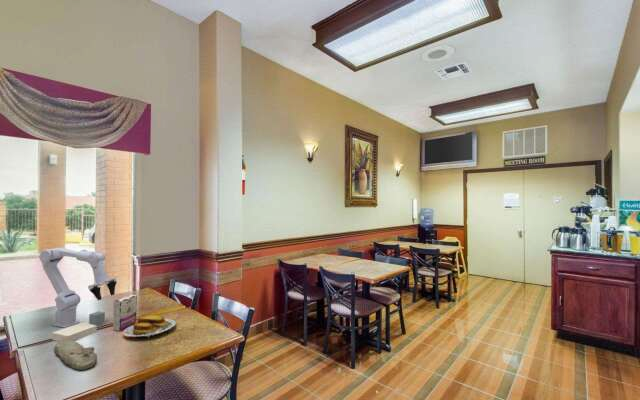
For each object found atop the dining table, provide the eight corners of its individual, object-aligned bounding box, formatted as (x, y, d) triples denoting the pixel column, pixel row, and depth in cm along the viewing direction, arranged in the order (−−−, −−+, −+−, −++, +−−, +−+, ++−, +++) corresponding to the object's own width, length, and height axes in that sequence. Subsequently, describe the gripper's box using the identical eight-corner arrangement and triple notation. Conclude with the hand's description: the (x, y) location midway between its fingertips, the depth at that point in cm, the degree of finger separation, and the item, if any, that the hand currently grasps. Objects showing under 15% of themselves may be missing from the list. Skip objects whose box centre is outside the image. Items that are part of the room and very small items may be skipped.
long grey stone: (74, 344, 147) (48, 353, 139) (74, 334, 147) (47, 342, 139) (104, 363, 127) (75, 375, 119) (103, 351, 127) (74, 362, 119)
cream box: (51, 340, 148) (52, 332, 148) (81, 329, 161) (82, 322, 161) (67, 344, 145) (67, 336, 145) (96, 333, 158) (96, 325, 158)
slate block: (89, 325, 167) (89, 314, 167) (97, 321, 172) (98, 311, 172) (95, 326, 166) (96, 315, 166) (104, 322, 170) (104, 312, 170)
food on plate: (122, 346, 144) (123, 332, 144) (121, 328, 165) (122, 316, 165) (179, 334, 159) (180, 322, 159) (172, 319, 179) (172, 308, 179)
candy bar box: (129, 322, 171) (130, 294, 172) (136, 323, 170) (137, 295, 171) (111, 330, 160) (113, 300, 161) (119, 331, 159) (120, 300, 160)
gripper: (92, 276, 159) (98, 300, 158) (117, 268, 173) (123, 291, 172) (83, 278, 161) (89, 303, 160) (108, 271, 175) (114, 293, 174)
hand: (106, 297), depth 166 cm, fingers open, 7 cm apart
